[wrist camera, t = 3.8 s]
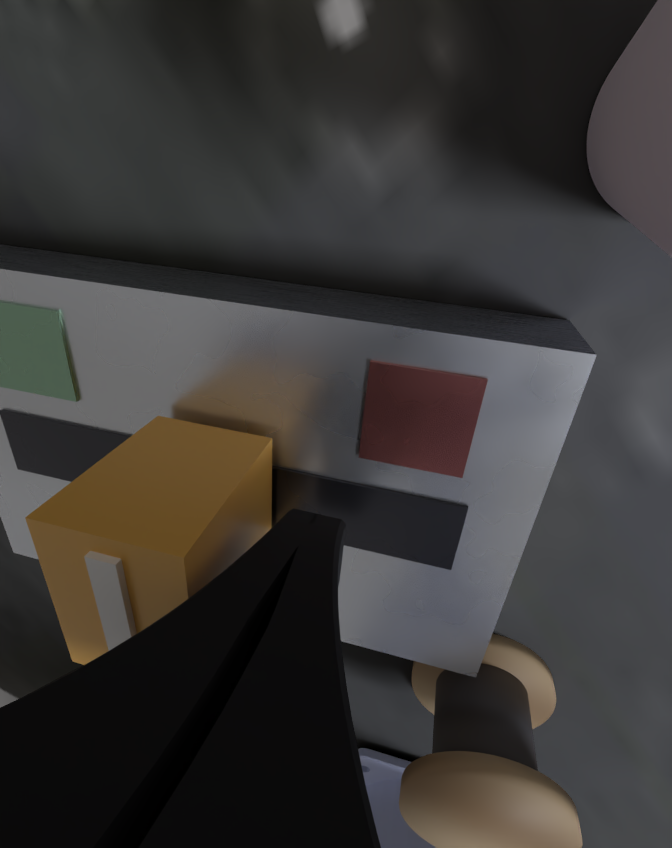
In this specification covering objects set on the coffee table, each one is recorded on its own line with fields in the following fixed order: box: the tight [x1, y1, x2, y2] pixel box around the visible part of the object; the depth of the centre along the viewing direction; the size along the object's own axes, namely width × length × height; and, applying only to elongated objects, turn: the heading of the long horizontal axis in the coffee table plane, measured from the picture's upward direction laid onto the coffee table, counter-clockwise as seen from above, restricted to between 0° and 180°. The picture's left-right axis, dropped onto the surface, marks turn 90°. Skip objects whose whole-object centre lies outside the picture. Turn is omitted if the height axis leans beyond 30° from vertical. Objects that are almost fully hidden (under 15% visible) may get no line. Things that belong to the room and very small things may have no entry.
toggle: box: [25, 416, 272, 665], centre depth 10 cm, size 4×3×4 cm
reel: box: [399, 634, 582, 848], centre depth 15 cm, size 5×5×5 cm
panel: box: [0, 244, 596, 678], centre depth 13 cm, size 10×16×3 cm, turn 86°
